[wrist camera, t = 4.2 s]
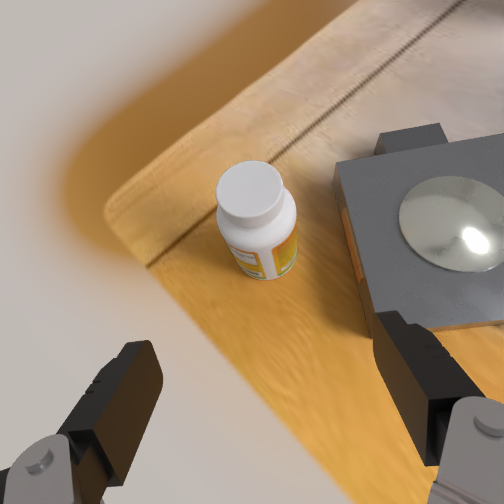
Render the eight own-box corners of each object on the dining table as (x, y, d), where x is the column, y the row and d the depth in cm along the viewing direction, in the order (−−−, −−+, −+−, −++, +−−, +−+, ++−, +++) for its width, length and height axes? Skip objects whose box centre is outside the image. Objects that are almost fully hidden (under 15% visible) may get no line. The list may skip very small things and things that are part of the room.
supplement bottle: (290, 218, 27) (284, 140, 18) (304, 274, 25) (305, 216, 16) (232, 232, 27) (199, 161, 18) (241, 287, 25) (208, 237, 16)
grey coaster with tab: (325, 159, 29) (327, 134, 26) (480, 132, 27) (502, 101, 24) (368, 339, 22) (379, 333, 19) (579, 315, 20) (627, 305, 17)
